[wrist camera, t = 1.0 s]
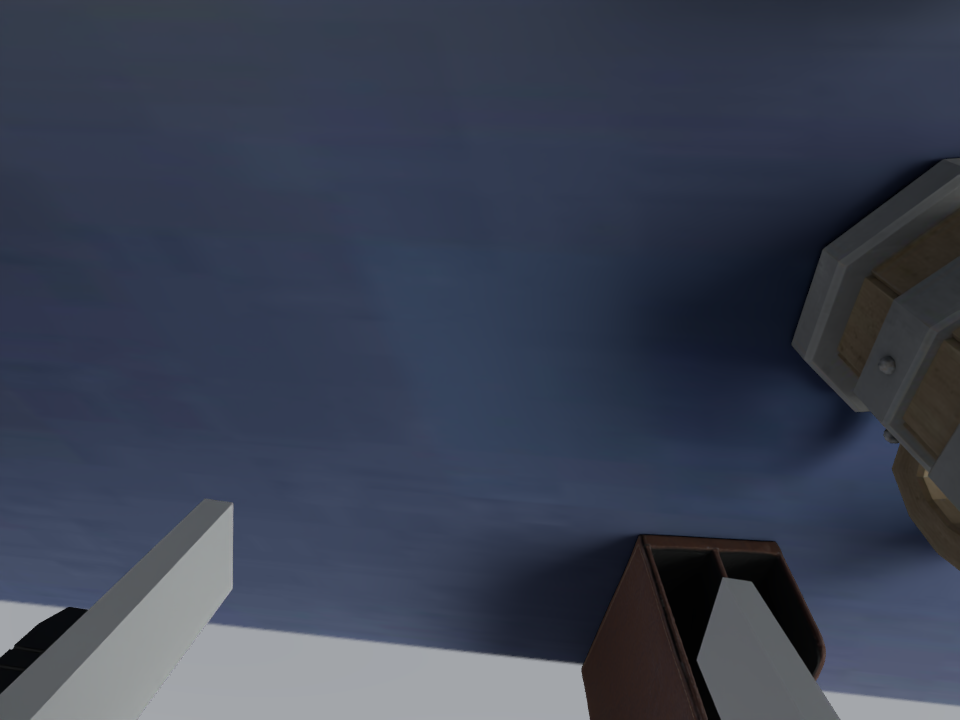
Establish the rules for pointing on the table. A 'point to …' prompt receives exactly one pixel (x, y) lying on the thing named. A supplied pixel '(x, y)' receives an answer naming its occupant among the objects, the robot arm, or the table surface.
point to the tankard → (900, 340)
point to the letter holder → (683, 625)
